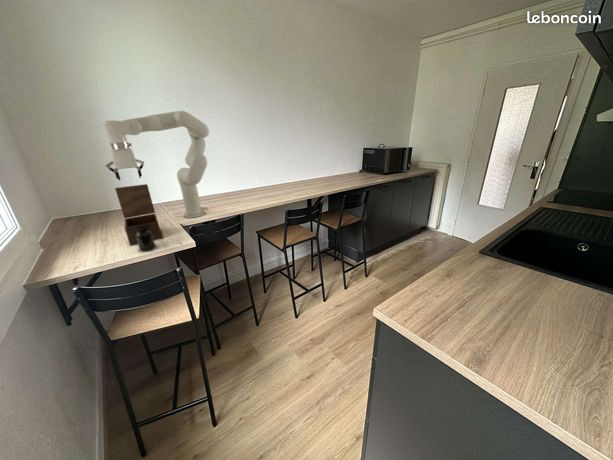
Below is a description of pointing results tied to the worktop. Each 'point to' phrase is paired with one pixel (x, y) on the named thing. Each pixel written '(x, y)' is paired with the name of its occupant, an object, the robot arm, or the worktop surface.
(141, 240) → the supplement bottle
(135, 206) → the lid
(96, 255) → the worktop surface
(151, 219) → the walnut box
